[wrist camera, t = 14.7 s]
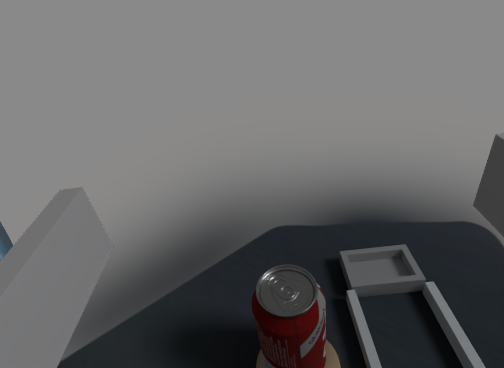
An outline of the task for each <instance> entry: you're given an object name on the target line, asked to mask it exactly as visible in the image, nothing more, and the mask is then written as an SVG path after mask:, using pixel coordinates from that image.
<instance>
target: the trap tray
mask: <svg viewBox="0 0 504 368" xmlns="http://www.w3.org/2000/svg"><path fill="white" fill-rule="evenodd" d="M340 265H341V268H342V271H343V274H344V278H345V281H346V284H347V287H348V290H355V292H356V294H357V297H366V296H376V295H386V294H396V293H406V292H416V291H423V289H424V285H425V281H426V279H425V277H424V275H423V274H422V272H421V270H420V269H419V267H418V265H417V263H416V262H415V260H414V258H413V257H412V255H411V253H410V251H409V250H408V248H407V246H406V245H405V244H404V245H395V246H386V247H377V248H368V249H359V250H349V251H340Z"/></svg>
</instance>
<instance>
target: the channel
mask: <svg viewBox="0 0 504 368" xmlns="http://www.w3.org/2000/svg"><path fill="white" fill-rule="evenodd" d="M423 295H424V297H425V298H426V300H427V302H428V304H429V306H430V308H431V309H432V311H433V313H434V315H435V317H436V318H437V320H438V322H439V324H440V326H441V328H442V329H443V331H444V333H445V335H446V337H447V339H448V340H449V342H450V344H451V346H452V348H453V349H454V351H455V353H456V355H457V357H458V359H459V360H460V362H461V364H462V366H463V368H485V366H484V365H483V363H482V361H481V360H480V358H479V356H478V355H477V353H476V351H475V350H474V348H473V346H472V345H471V343H470V341H469V340H468V338H467V336H466V335H465V333H464V331H463V330H462V328H461V326H460V325H459V323H458V321H457V320H456V318H455V317H454V315H453V313H452V312H451V310H450V308H449V307H448V305H447V303H446V302H445V300H444V298H443V297H442V295H441V293H440V292H439V290H438V288H437V287H436V285H435V283H434V282H426V283H425V285H424V289H423ZM346 301H347V305H348V308H349V311H350V314H351V318H352V321H353V324H354V327H355V331H356V334H357V337H358V340H359V344H360V347H361V350H362V353H363V357H364V360H365V363H366V367H367V368H382V367H381V364H380V361H379V359H378V356H377V353H376V350H375V347H374V344H373V341H372V338H371V335H370V332H369V329H368V327H367V324H366V321H365V318H364V315H363V312H362V309H361V306H360V303H359V300H358V297H357V294H356V292H355V290H347V295H346Z"/></svg>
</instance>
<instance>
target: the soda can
mask: <svg viewBox="0 0 504 368" xmlns="http://www.w3.org/2000/svg"><path fill="white" fill-rule="evenodd" d="M252 311H253V316H254V320H255V325H256V329H257V333H258V338H259V342H260V347H261V351H262V355H263V360H264V364H265V367H266V368H325V364H326V313H325V297H324V294H323V292H322V290H321V288H320V286H319V285H318V284H317V283H316V281H315V279H314V277H313V276H312V275H311V274H310V273H309V272H308V271H307V270H305V269H303V268H301V267H299V266H295V265H279V266H276V267H273V268H271V269H269V270H268V271H266V272H265V273H264V274H263V275H262V276H261V277H260V279H259V280H258V283H257V286H256V290H255V292H254V294H253V297H252Z"/></svg>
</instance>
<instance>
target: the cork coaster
mask: <svg viewBox="0 0 504 368" xmlns="http://www.w3.org/2000/svg"><path fill="white" fill-rule="evenodd" d="M256 368H266V367H265V364H264V360H263V355H262V351H261V350H260V352H259V354H258V358H257V363H256ZM325 368H340V362H339V359H338V356H337V354H336V352H335V350H334V348H333V347H332V345H331V344H330V343H329V342H328V341H327V340H326V364H325Z"/></svg>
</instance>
